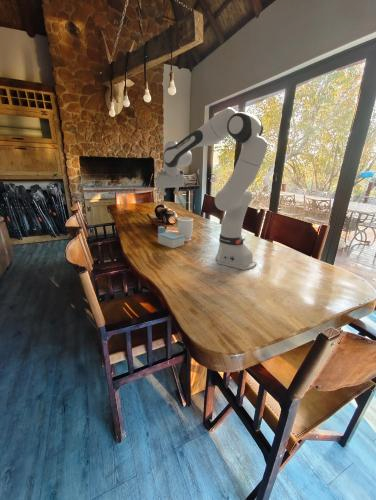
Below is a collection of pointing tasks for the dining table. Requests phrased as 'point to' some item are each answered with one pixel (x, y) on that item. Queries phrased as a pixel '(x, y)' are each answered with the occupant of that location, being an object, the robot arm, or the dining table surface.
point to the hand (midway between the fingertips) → (170, 194)
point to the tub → (170, 242)
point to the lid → (169, 234)
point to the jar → (185, 227)
